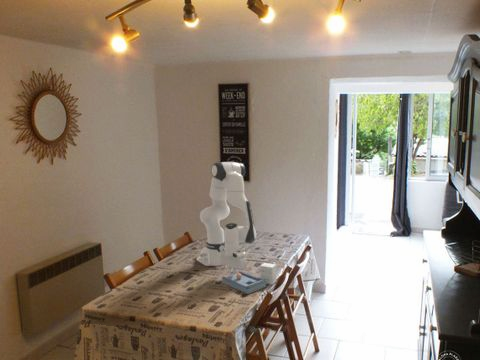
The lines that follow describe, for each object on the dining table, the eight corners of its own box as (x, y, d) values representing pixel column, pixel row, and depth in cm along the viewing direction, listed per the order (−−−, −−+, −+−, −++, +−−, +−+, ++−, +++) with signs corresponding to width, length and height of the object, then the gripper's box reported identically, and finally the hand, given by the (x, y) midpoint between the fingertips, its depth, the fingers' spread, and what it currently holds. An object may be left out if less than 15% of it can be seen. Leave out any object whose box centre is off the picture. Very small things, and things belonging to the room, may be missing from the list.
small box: (276, 281, 247) (276, 264, 245) (272, 285, 242) (272, 267, 241) (264, 279, 251) (264, 262, 250) (260, 282, 246) (260, 265, 245)
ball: (235, 278, 246) (235, 273, 246) (239, 277, 248) (239, 272, 248) (238, 280, 244) (238, 275, 243) (243, 278, 246) (242, 273, 245)
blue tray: (222, 282, 247) (222, 275, 246) (240, 276, 256) (239, 269, 255) (248, 293, 231) (248, 286, 230) (266, 286, 240) (265, 279, 239)
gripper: (216, 248, 254) (217, 270, 256) (239, 256, 239) (240, 279, 241) (224, 246, 258) (225, 268, 260) (247, 253, 243) (248, 276, 245)
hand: (232, 273), depth 250 cm, fingers closed
